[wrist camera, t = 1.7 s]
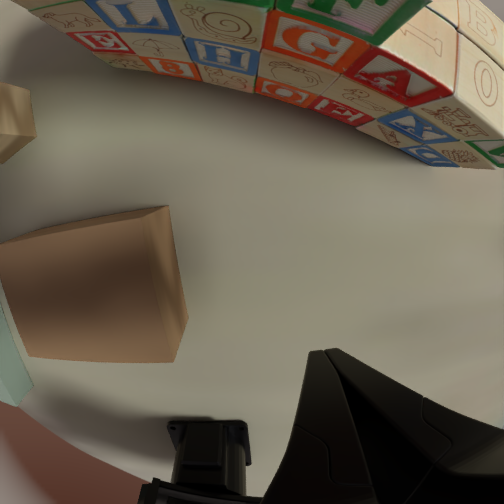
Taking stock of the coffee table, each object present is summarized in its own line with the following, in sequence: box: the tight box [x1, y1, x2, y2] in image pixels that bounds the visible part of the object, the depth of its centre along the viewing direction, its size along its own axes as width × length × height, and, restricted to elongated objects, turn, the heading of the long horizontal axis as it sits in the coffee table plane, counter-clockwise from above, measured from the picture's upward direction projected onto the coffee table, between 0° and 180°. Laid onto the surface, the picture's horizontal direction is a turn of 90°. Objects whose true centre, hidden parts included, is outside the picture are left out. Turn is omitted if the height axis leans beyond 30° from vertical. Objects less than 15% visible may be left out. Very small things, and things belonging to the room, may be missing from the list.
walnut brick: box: [0, 205, 188, 363], centre depth 15 cm, size 7×10×5 cm
